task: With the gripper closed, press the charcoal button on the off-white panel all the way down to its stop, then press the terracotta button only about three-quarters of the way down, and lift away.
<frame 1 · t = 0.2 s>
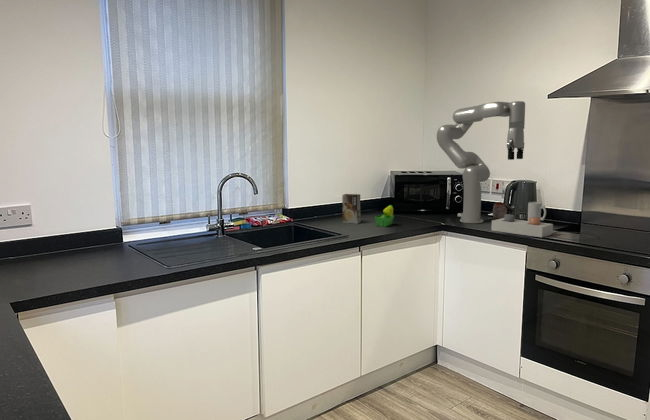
hand: (515, 159, 256), 36 cm above the worktop, tool pointing down, fingers open, 9 cm apart
food item: (499, 218, 290), on the worktop
coffee box: (351, 223, 279), on the worktop
charcoal button: (509, 219, 252), point 6 cm above the worktop, slide at 0.0 cm
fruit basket: (385, 225, 270), on the worktop
mug: (536, 225, 268), on the worktop
terracotta button: (534, 222, 242), point 6 cm above the worktop, slide at 0.0 cm
button panel: (521, 232, 248), on the worktop
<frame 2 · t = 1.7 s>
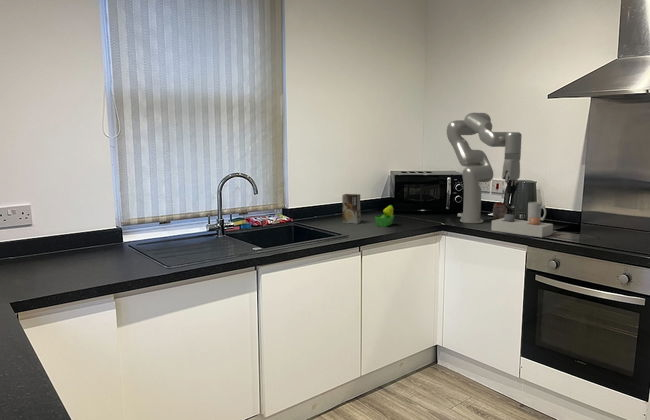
hand: (510, 193, 250), 19 cm above the worktop, tool pointing down, fingers closed
nothing on the worktop moved.
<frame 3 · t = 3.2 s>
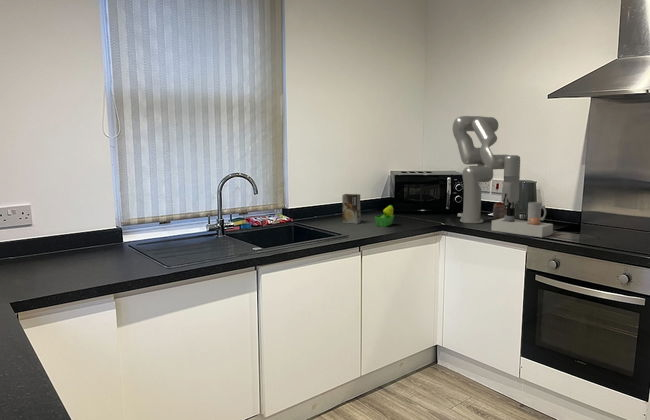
hand: (510, 215, 251), 8 cm above the worktop, tool pointing down, fingers closed
charcoal button: (509, 220, 252), point 5 cm above the worktop, slide at 0.4 cm, touching gripper
everything else where it was.
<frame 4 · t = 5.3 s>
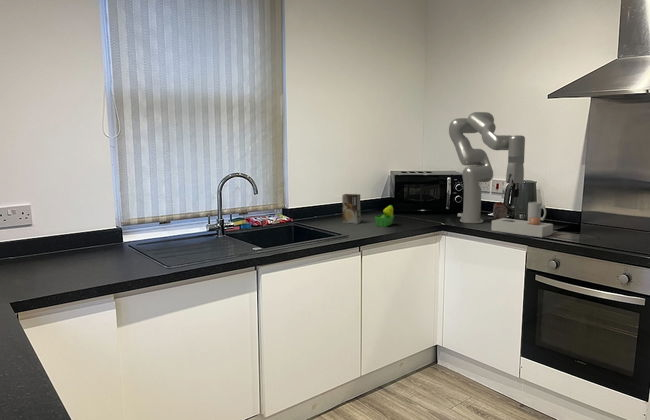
hand: (514, 196, 248), 17 cm above the worktop, tool pointing down, fingers closed
charcoal button: (509, 225, 252), point 3 cm above the worktop, slide at 3.1 cm
everything else where it was.
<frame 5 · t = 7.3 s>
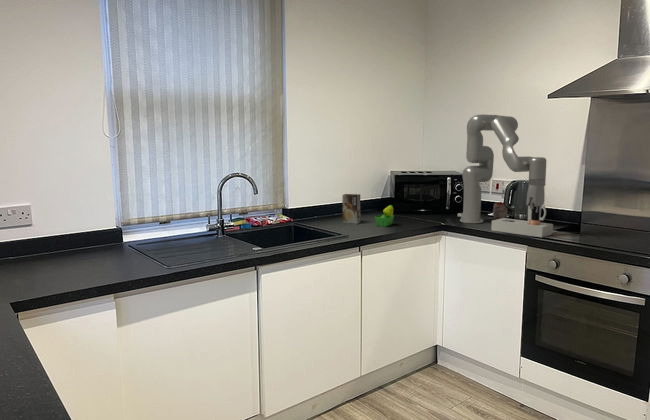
hand: (535, 220, 242), 7 cm above the worktop, tool pointing down, fingers closed
terracotta button: (534, 224, 242), point 5 cm above the worktop, slide at 1.1 cm, touching gripper
everything else where it was.
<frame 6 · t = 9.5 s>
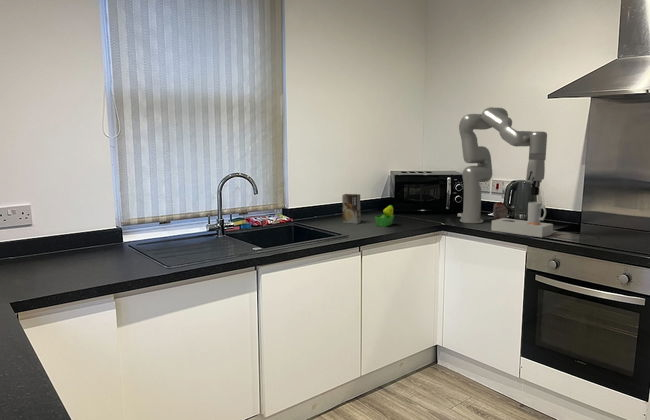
hand: (534, 194, 241), 19 cm above the worktop, tool pointing down, fingers closed
terracotta button: (534, 227, 242), point 3 cm above the worktop, slide at 2.4 cm
everything else where it was.
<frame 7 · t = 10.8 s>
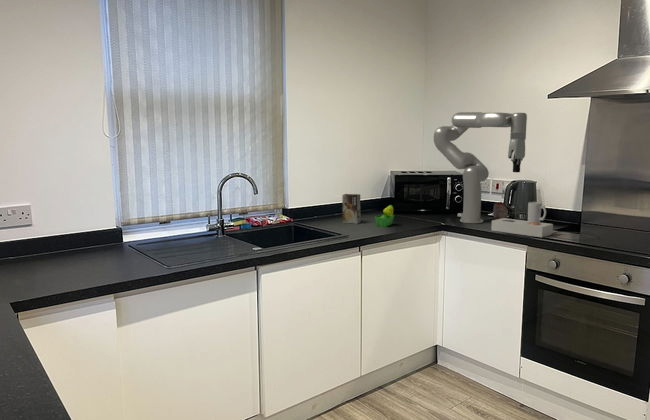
hand: (516, 172, 259), 29 cm above the worktop, tool pointing down, fingers closed
nothing on the worktop moved.
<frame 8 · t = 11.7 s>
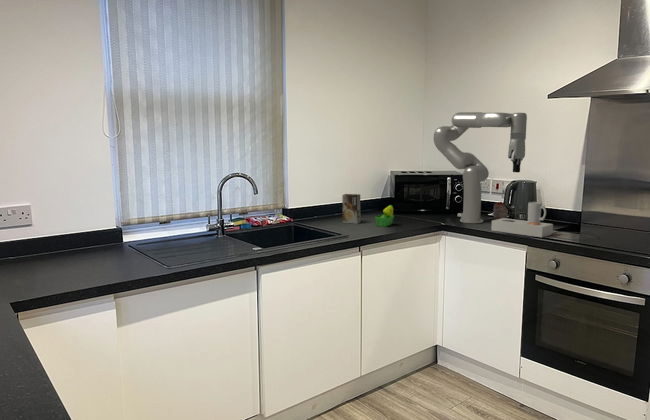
hand: (516, 172, 259), 29 cm above the worktop, tool pointing down, fingers closed
nothing on the worktop moved.
at the end: charcoal button slide at 3.1 cm; terracotta button slide at 2.4 cm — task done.
